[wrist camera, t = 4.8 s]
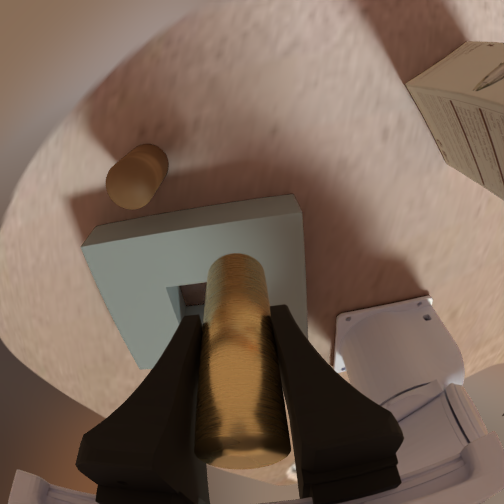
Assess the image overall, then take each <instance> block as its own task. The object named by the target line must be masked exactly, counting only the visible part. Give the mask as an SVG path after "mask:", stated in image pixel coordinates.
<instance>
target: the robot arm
mask: <svg viewBox="0 0 504 504" xmlns="http://www.w3.org/2000/svg"><path fill="white" fill-rule="evenodd" d="M432 301H433V299H432V297H431V296H430V295H428V296H424V297H419V298H415V299H410V300H406V301H401V302H397V303H392V304H387V305H382V306H377V307H372V308H367V309H362V310H357V311H351V312H346V313H341V314H339V315H338V316H337V319H336V337H335V352H334V365H333V368H332V367H331V366H330V365H329V364H328V363H327V362H326V361H325V360H324V359H323V358H322V357H321V356H320V354H319V353H318V352H317V351H316V350H315V348H314V347H313V346H312V345H311V343H310V342H309V341H308V339H307V338H306V336H305V335H304V334H303V332H302V331H301V329H300V328H299V326H298V325H297V323H296V321H295V320H294V318H293V316H292V314H291V312H290V310H289V308H288V306H287V305H285V304H283V305H275V306H270V314H271V322H272V329H273V335H274V339H275V344H276V349H277V356H278V363H279V369H280V376H281V383H282V388H283V392H284V396H285V400H286V404H287V409H288V414H289V419H290V427H291V434H292V441H293V449H294V456H295V464H296V472H297V480H298V488H299V496H300V499H296V500H288V501H280V502H271V503H260V504H481V503H483V502H484V501H486V500H488V499H489V498H491V497H492V496H494V495H496V494H497V493H498V492H500V491H501V490H503V489H504V449H503V447H502V445H501V443H500V440H499V438H498V436H497V434H496V432H495V431H492V432H490V433H488V431H487V429H486V427H485V424H484V422H483V420H482V418H481V416H480V414H479V412H478V410H477V408H476V407H475V405H474V403H473V401H472V400H471V398H470V396H469V395H468V393H467V392H466V391H465V389H464V388H463V387H462V385H463V381H464V374H465V370H464V362H463V358H462V355H461V352H460V350H459V347H458V346H457V344H456V342H455V341H454V339H453V338H452V336H451V335H450V333H449V331H448V330H447V328H446V327H445V325H444V324H443V322H442V321H441V319H440V318H439V316H438V315H437V313H436V312H435V310H434V309H433V307H432V306H431V305H432ZM347 317H349V318H347ZM202 328H203V326H202V323H201V319H200V316H199V314H198V315H188V316H184V317H183V318H182V320H181V322H180V324H179V326H178V328H177V330H176V331H175V333H174V335H173V337H172V339H171V340H170V342H169V344H168V345H167V347H166V349H165V350H164V352H163V354H162V355H161V357H160V358H159V360H158V361H157V363H156V364H155V366H154V367H153V369H152V370H151V371H150V373H149V374H148V375H147V377H146V378H145V379H144V381H143V382H142V383H141V384H140V385H139V387H138V388H137V389H136V390H135V391H134V392H133V393H132V394H131V396H130V397H129V398H128V399H127V400H126V401H125V402H124V403H123V404H122V405H121V406H120V407H119V408H118V409H116V410H115V411H114V412H113V413H112V414H111V415H110V416H108V417H107V418H106V419H105V420H104V421H102V422H101V423H100V424H98V425H97V426H96V427H94V428H93V429H91V430H90V431H88V432H87V433H85V434H84V435H83V438H82V441H81V443H80V448H79V452H78V456H77V460H76V467H77V468H78V470H79V471H80V472H81V473H83V474H84V475H85V476H87V477H88V478H89V479H91V480H92V481H94V482H95V483H96V484H98V488H97V493H96V495H94V494H89V493H84V492H79V491H75V490H71V489H67V488H63V487H59V486H55V485H51V484H49V483H48V482H47V481H45V480H44V479H42V478H41V477H39V476H36V475H34V474H30V473H28V472H24V471H21V470H17V471H16V474H15V478H14V482H13V485H12V489H11V493H10V497H9V501H8V504H210V501H209V492H208V481H207V468H206V463H204V462H202V461H201V460H199V459H198V458H197V457H196V455H195V453H194V444H195V425H196V408H197V393H198V378H199V365H200V352H201V340H202ZM344 371H347V374H348V377H349V380H350V383H351V384H349V383H348V382H347V381H346V380H344V379H343V378H342V377H341V376H340V375H339V374H338V373H339V372H344Z"/></svg>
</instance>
